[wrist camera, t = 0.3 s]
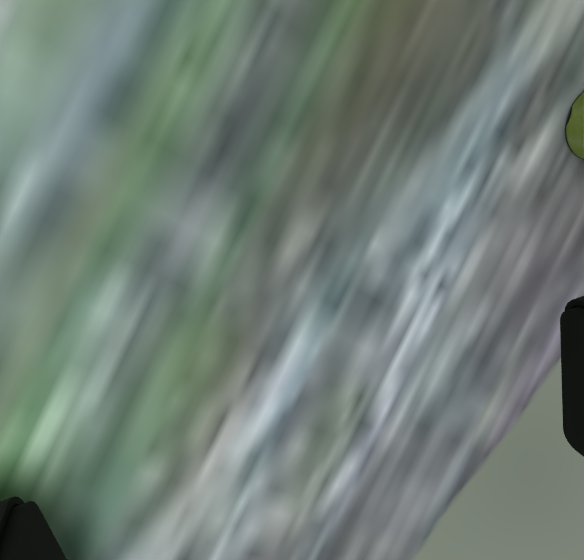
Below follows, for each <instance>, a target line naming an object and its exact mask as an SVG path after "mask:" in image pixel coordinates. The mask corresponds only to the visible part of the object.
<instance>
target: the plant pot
mask: <svg viewBox="0 0 584 560" xmlns="http://www.w3.org/2000/svg"><path fill="white" fill-rule="evenodd" d="M566 135H567V140H568V144H569V146H570V148H571V150H572V151H573V152H574V154H576V155H577V156H578V157H580V158H582V159H584V92H583V93H582V94H581V95H580V96H579V97H578V99H577V100H576V101H575V103H574V104H573V106H572V113H571V117H570V120H569V122H568V124H567V126H566Z"/></svg>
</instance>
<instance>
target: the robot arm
mask: <svg viewBox="0 0 584 560" xmlns="http://www.w3.org/2000/svg"><path fill="white" fill-rule="evenodd" d="M560 331H561V363H562V364H561V367H562V403H563V430H564V434H565V437H566V439H567V441H568V442H569V444H570V445H571V446H572V447H573V448H574V449H575V450H576V451H578V452H579V453H580V454H581V455H583V456H584V296H582V297H579V298H576V299H573V300H571V301H570V302H568V303H567V305H566V307H565V311H564V312H563V313H562V315H561V318H560ZM0 560H67V559H66V557H65V556H64V554H63V552H62V550H61V548H60V546H59V544H58V542H57V541H56V539H55V537H54V535H53V533H52V531H51V529H50V528H49V526H48V524H47V522H46V520H45V518H44V516H43V514H42V513H41V511H40V509H39V507H38V506H37V504H36V503H35V502H33V501H29V502H27V503H24V502H23V500H22V499H20V498H19V497H11V498H8V499H6V500H3V501H0Z"/></svg>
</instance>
